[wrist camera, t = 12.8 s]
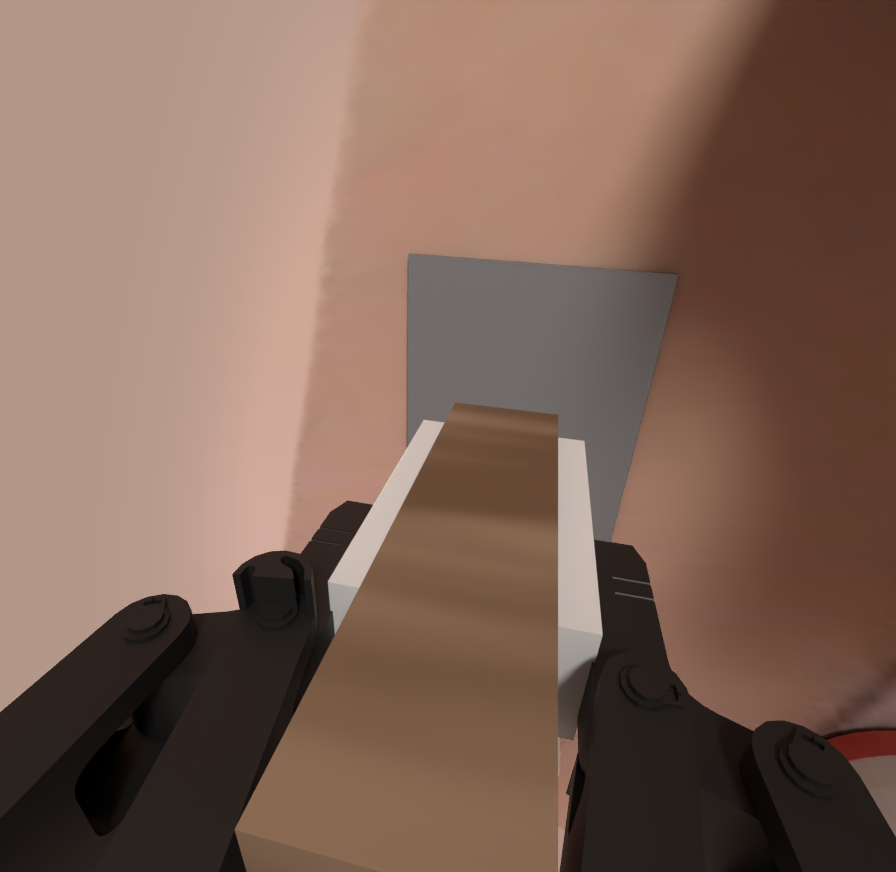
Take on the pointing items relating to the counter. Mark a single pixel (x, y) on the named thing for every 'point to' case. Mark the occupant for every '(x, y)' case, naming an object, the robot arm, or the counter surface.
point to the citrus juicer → (874, 766)
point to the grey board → (540, 353)
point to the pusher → (435, 679)
